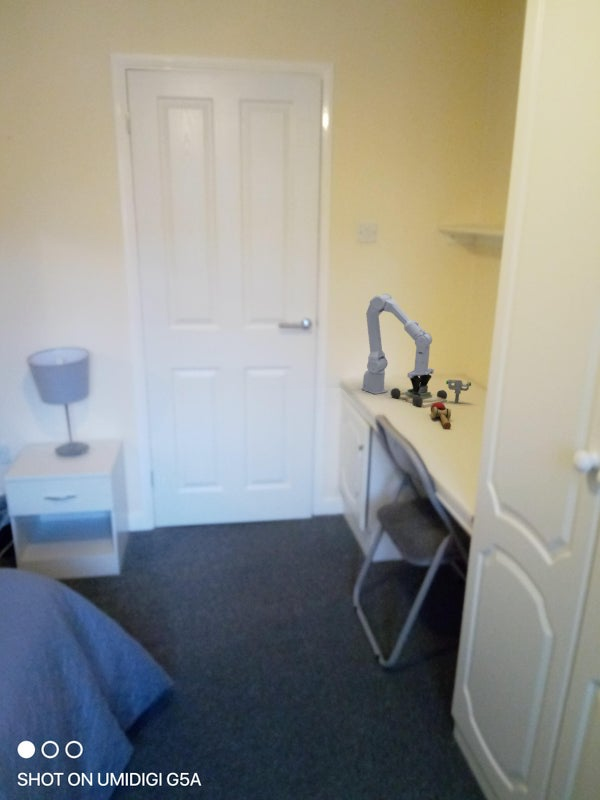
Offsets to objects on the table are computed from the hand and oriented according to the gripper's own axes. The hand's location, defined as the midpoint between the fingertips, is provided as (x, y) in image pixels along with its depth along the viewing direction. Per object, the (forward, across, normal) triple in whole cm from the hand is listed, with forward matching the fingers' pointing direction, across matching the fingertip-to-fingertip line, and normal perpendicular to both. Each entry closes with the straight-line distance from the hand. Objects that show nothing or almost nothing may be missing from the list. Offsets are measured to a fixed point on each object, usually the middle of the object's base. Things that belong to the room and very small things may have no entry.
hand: (419, 391), depth 262 cm
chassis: (+4, 0, 0) cm, 4 cm away
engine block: (+2, 0, 0) cm, 2 cm away
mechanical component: (+4, +10, -13) cm, 17 cm away
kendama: (+4, -14, -25) cm, 29 cm away
